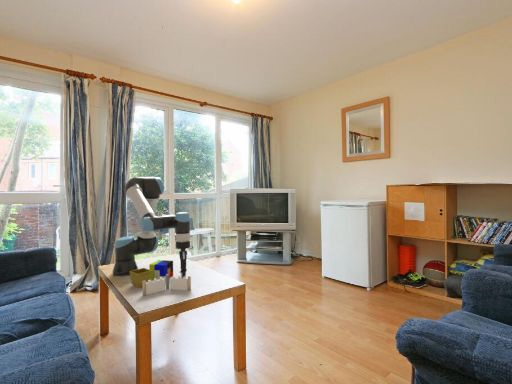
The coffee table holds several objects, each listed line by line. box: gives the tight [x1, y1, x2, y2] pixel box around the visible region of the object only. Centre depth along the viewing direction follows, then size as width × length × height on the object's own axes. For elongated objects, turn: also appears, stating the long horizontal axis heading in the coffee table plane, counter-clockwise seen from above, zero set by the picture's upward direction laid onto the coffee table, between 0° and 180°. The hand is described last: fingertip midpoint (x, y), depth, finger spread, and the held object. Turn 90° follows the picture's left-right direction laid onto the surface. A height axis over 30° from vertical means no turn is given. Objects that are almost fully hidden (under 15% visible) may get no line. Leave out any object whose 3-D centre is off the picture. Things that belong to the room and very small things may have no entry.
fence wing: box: [169, 275, 192, 291], centre depth 146 cm, size 12×2×7 cm, turn 81°
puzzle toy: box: [148, 259, 174, 281], centre depth 166 cm, size 10×10×10 cm
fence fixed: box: [141, 274, 170, 297], centre depth 143 cm, size 14×2×8 cm, turn 131°
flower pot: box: [129, 267, 151, 288], centre depth 153 cm, size 9×9×9 cm
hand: (183, 283), depth 148 cm, fingers closed
